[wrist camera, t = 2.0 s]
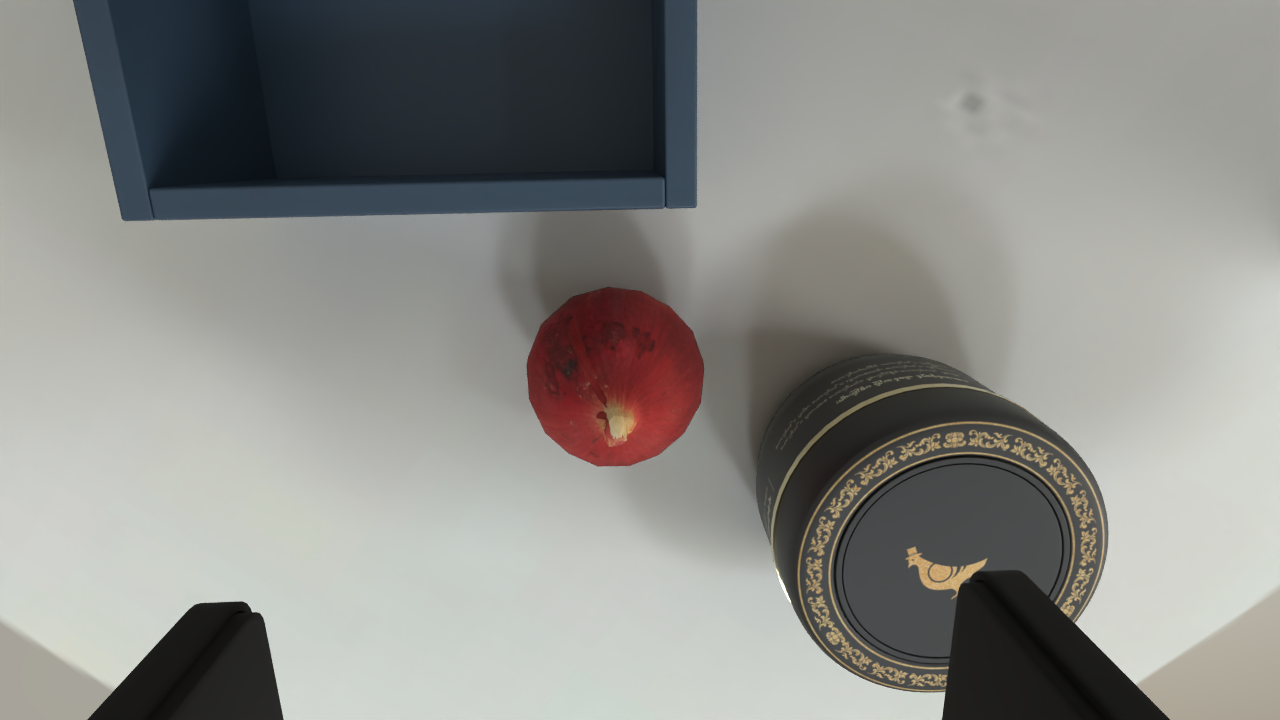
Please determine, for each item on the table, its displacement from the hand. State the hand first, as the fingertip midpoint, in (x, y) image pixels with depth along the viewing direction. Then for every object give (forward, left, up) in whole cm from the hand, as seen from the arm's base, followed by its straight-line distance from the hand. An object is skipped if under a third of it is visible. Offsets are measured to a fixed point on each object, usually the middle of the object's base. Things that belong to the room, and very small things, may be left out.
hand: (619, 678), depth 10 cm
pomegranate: (0, 0, -18) cm, 18 cm away
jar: (-10, +5, -18) cm, 22 cm away
